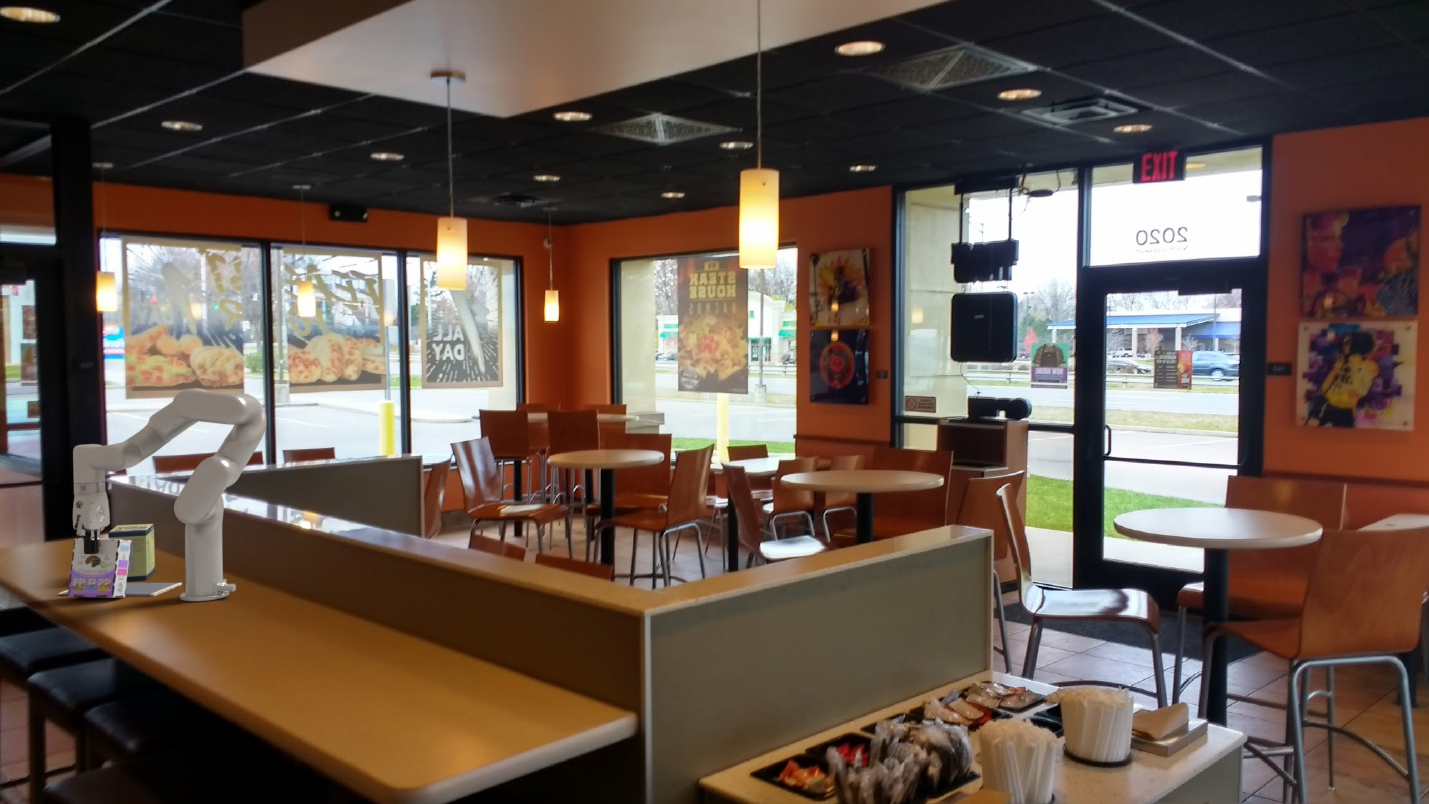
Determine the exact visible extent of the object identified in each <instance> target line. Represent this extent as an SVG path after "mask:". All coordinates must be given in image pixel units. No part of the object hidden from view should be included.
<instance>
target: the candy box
mask: <svg viewBox="0 0 1429 804" xmlns="http://www.w3.org/2000/svg"><path fill="white" fill-rule="evenodd" d="M98 544H99V553H97V554H84V540H82V538H74V539H73V549H72V557H71V565H70V566H71V567H70V573H69V575H70V576H69V584H68V589H67V590H68V596H67V598H111V599H112V598H125V597H126V596H125V591H126V583H128V581H127V574H128V565H129V556H130V548H131V540H123V539H108V538H99V539H98Z"/></svg>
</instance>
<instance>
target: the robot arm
mask: <svg viewBox="0 0 1429 804" xmlns="http://www.w3.org/2000/svg"><path fill="white" fill-rule="evenodd" d="M265 411H266V410H265V409H264V406H263V405H262V404H261V402H260V401H259V399H257V398H256V397H255V396H253V395H251V394H250V393H249V394H248V393H244V392H243V393H233V394H232V393H219V392H211V391H208V390H206V389H204V388H200V387H199V388H198V387H194V388H186V389H183V390H181V391H179V392H177V393H176V394H175V396H174V397H173V400H172V401H171V402H170V403H168V404H167V405H165V406H164V407H162V408H161V409H158V411H156V412H154V413H153V414H151V416H150V417H149V419H148V421H147V424H146V425H145V426H144V427H143V428H142V429H140V430H139V431H138V432H136V433H135V434H133V435H131V437H129V438H127V439H126V440H123V441H122V442H116V443H112V444H106V445H102V444H99V443H98V444H97V443H89V444H78V445H75V446H74V448H73V451H72V452H73V453H72V455H73V456H72V457H73V458H72V460H73V463H72V464H73V467H72V468H73V495H74V499H73V506H72V507H73V508H72V526H73V529H74V530H76V536H81V539H82V540H84V554H97V553H99V544H98V539H100V534H101V532H103V530H105V528H106V527H108V526H109V525H110V523H111V521H110V520H111V517H110V505H109V498H108V495H107V491H106V471H108V472H118V471H122V470H123V471H124V470H126V469H130V468H133V467H136V466H137V465H139V464H140V463H142V462H143V461H144V460H145V461H146V459H147V458H149V457H150V456H152V455H154V454H155V453H156V452H158V451H159V450H160V449H162V448H163V447H165V446H166V445H167V444H169V443H170V442H172V440H173V439H175V438H177V437H178V436H179V435H181V434H182V433H183V432H185V431H186V430H188V429H190V428H191V427H192V426H194V425H195V424H197V423H198V422H201V423H209V424H210V423H211V424H219V425H220V424H221V425H228V426H229V425H231V426H232V425H233V427H232V428H231V430H230V432H229V433H227V435H226V437H225V438H224V440H223V441H222V444H221V445H220V447H219V448H218V449H217V451H216V452H215V454H214V455H212V456H210V457H207V458H205V459H204V460H202V461H200V463H199V464H198V465H197V466H196V468H195V469H194V470H193V472H192V474H191V475H190V477H189V479H188V480H187V482H186V483H185V484H184V486H183V487H182V490H181V491H180V492H179V494H178V496H177V498H176V499H175V502H174V505H173V510H174V511H173V512H174V515H175V517H176V518H177V520H178V521H180V522H181V523H184V524H185V529H184V555H185V557H184V558H185V559H184V561H185V591H183V592H182V593H180V594H179V599H180V600H181V601H185V602H205V601H213V600H220V599H222V598H226V597H227V596H229V595H230V592H235V591H236V590H237V586H236V583H228V582H227V578H224V574H223V573H224V572H223V567H224V566H223V563H224V562H223V518H224V509H225V507H224V506H225V505H224V504H225V503H224V499H223V496H222V495H223V493H224V492H225V491H226V489H228V488H229V487H231V486H233V485H234V484H235V483H236V482H237V481H238V480H239V478H240V477H241V474H242V473H243V471H244V469H245V468H246V466H247V464H248V463H249V461H250V459H251V458H252V457H253V454H254V453H255V451H256V449H257V448H258V446H259V444H260V443H261V441H262V439H263V437H264V436H265V435H264V434H265V433H266V429H267V414H266V412H265Z"/></svg>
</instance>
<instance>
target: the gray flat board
mask: <svg viewBox="0 0 1429 804" xmlns="http://www.w3.org/2000/svg"><path fill="white" fill-rule="evenodd" d="M182 585H183V582H127V583H126V591H125V597H156V596H158V595H161V594H163V593H166V592H168V591H171V590H173V589H176V588H177V586H178V587H181V586H182ZM170 589H171V590H170ZM68 590H69V589H67V590H64V591H61V592H57V596H58V595H68Z"/></svg>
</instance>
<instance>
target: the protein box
mask: <svg viewBox="0 0 1429 804" xmlns="http://www.w3.org/2000/svg"><path fill="white" fill-rule="evenodd" d="M107 536H108V538H107V539H123V540H131V548H130V556H129V565H128V574H127V582H134V581H135V582H137V581H138V582H139V581H147V580H148V579H149V578H150V577H151V576H152V575H153V574H154V573H155V571H156V570H155V567H156V566H155V565H156V564H155V561H156V560H155V525H154V523H138V524H137V523H136V524H135V523H134V524H118V525H116V526H115V527H114V528H112V529H111V530H110V531H108V533H107Z"/></svg>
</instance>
